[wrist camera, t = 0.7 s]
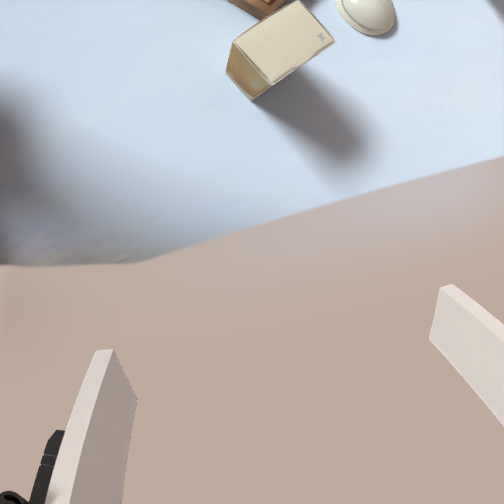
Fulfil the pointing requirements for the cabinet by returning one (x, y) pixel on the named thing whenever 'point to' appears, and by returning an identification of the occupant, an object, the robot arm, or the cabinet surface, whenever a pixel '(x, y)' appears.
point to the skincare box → (276, 48)
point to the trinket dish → (367, 15)
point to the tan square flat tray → (259, 7)
